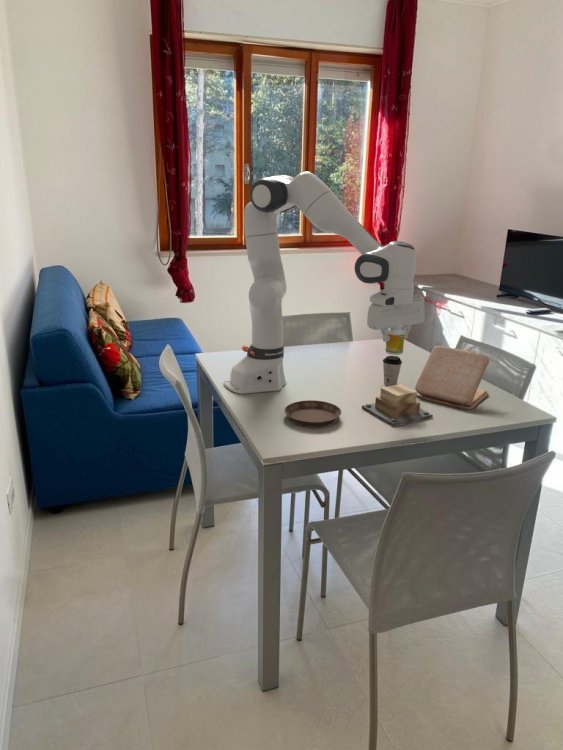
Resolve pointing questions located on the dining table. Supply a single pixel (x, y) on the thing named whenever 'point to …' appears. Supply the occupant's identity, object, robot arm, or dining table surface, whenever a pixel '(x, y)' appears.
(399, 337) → the supplement bottle
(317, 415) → the plant saucer
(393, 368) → the coffee cup
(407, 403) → the tower
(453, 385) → the case
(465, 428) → the dining table surface
